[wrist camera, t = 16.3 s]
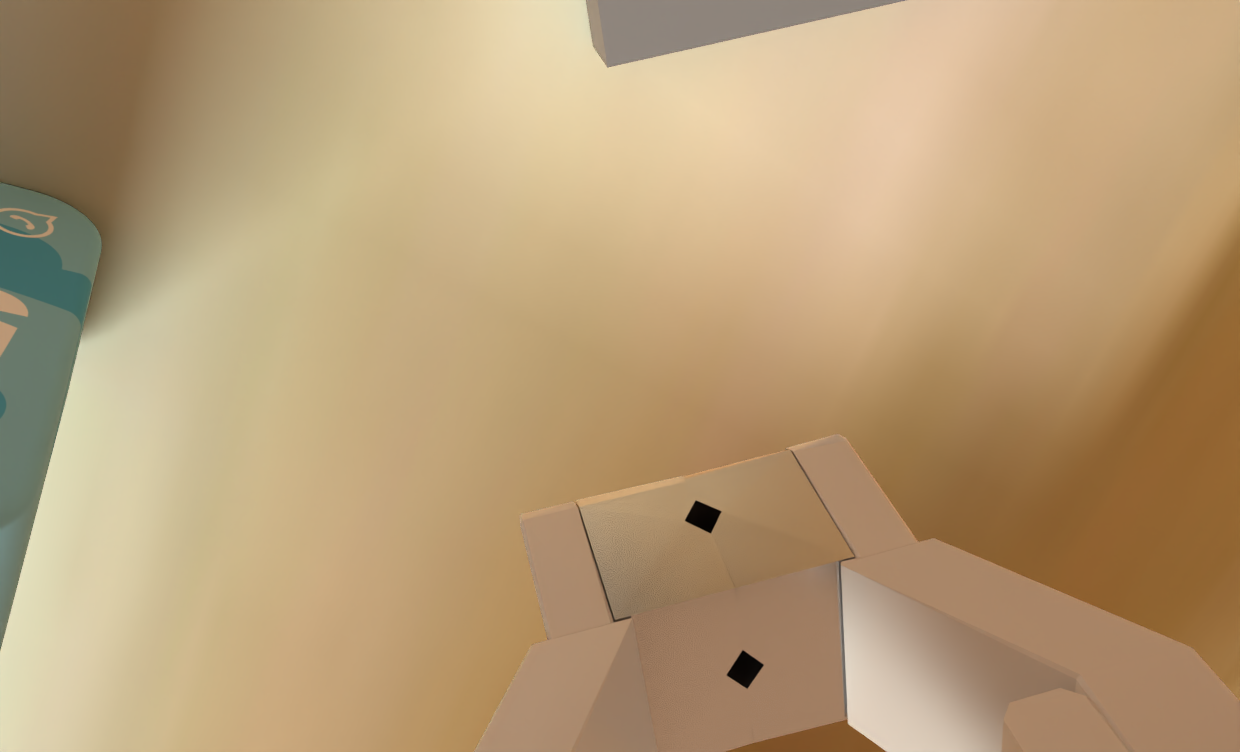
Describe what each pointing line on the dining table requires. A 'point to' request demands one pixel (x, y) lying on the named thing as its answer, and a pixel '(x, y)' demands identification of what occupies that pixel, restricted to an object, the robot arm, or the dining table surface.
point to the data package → (36, 353)
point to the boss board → (697, 22)
